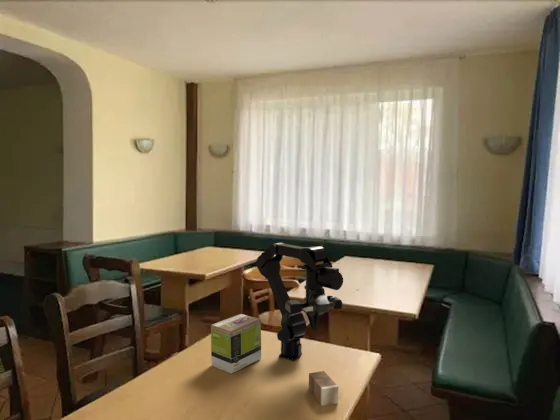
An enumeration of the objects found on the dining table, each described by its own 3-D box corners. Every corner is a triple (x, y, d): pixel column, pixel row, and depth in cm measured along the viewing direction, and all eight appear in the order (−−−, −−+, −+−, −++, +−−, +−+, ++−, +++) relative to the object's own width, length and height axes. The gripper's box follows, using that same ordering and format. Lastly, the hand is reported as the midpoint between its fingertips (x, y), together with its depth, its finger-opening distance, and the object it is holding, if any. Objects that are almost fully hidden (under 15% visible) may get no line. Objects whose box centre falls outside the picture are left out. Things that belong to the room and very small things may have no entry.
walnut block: (308, 388, 131) (321, 405, 122) (308, 373, 131) (322, 389, 121) (323, 386, 133) (337, 403, 123) (323, 370, 132) (338, 386, 123)
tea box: (241, 351, 157) (241, 312, 156) (261, 359, 151) (262, 318, 149) (210, 365, 146) (210, 323, 144) (230, 375, 139) (231, 330, 138)
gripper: (296, 292, 133) (296, 341, 134) (350, 287, 139) (349, 334, 140) (284, 284, 144) (284, 329, 145) (335, 280, 149) (335, 323, 151)
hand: (313, 329), depth 145 cm, fingers closed
